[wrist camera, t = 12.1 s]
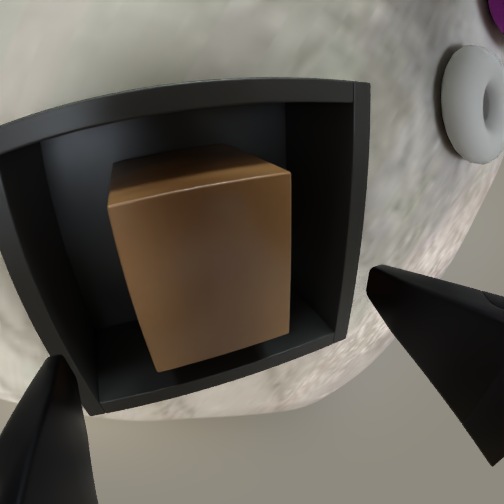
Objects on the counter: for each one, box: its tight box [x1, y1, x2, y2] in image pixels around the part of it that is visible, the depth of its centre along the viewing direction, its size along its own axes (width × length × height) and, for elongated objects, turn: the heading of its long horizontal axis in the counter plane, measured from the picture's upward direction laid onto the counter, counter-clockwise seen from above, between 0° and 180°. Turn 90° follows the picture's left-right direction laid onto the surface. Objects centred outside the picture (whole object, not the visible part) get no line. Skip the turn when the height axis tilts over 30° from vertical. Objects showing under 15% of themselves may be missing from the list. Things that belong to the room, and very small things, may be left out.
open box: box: [0, 77, 370, 416], centre depth 13 cm, size 13×12×6 cm
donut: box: [441, 45, 504, 164], centre depth 18 cm, size 10×4×10 cm
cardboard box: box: [107, 143, 291, 372], centre depth 12 cm, size 5×6×6 cm
